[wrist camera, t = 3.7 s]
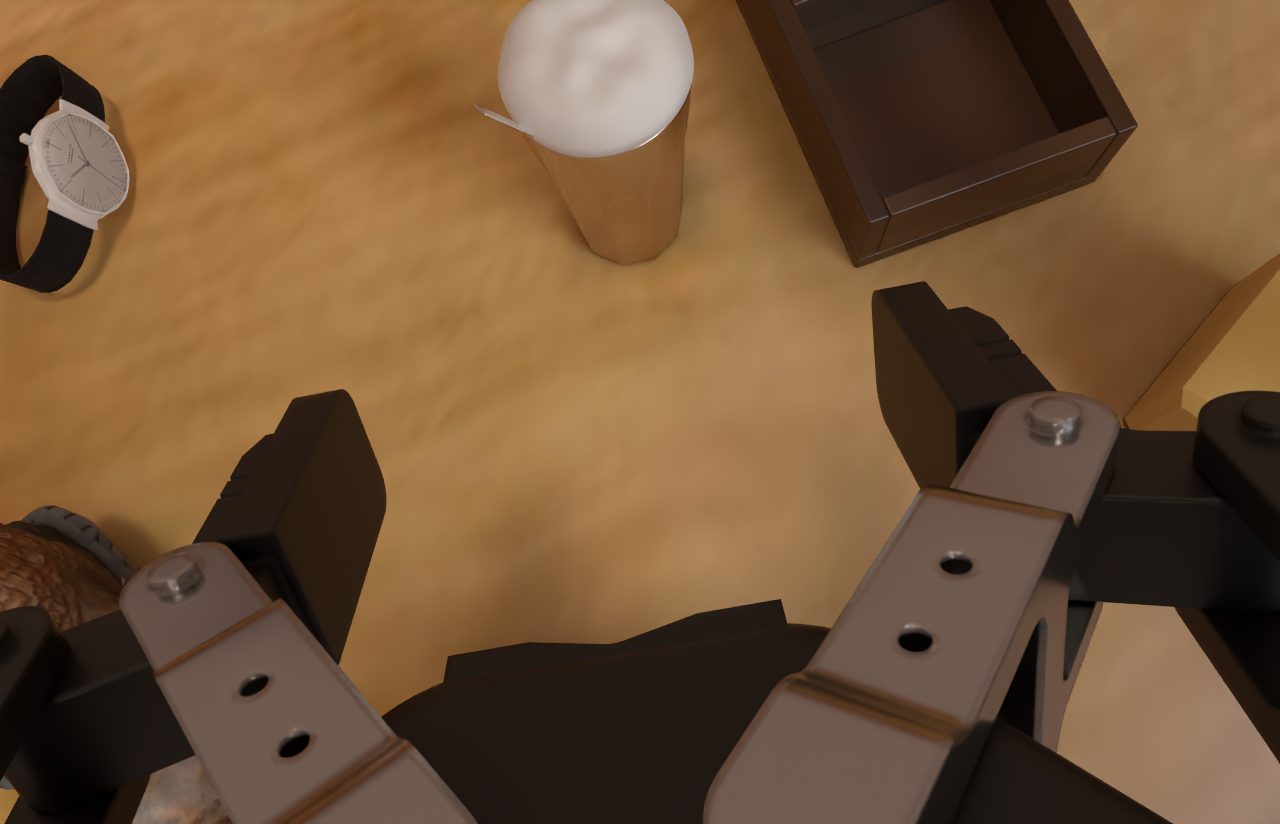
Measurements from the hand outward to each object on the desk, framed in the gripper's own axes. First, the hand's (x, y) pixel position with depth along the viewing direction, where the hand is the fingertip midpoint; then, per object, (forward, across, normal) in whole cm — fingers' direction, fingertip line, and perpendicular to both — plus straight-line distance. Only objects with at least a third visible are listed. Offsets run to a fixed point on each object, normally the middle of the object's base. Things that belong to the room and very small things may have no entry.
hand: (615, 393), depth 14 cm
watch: (+20, +18, 0) cm, 27 cm away
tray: (+22, -9, -3) cm, 24 cm away
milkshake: (+16, 0, +3) cm, 16 cm away
